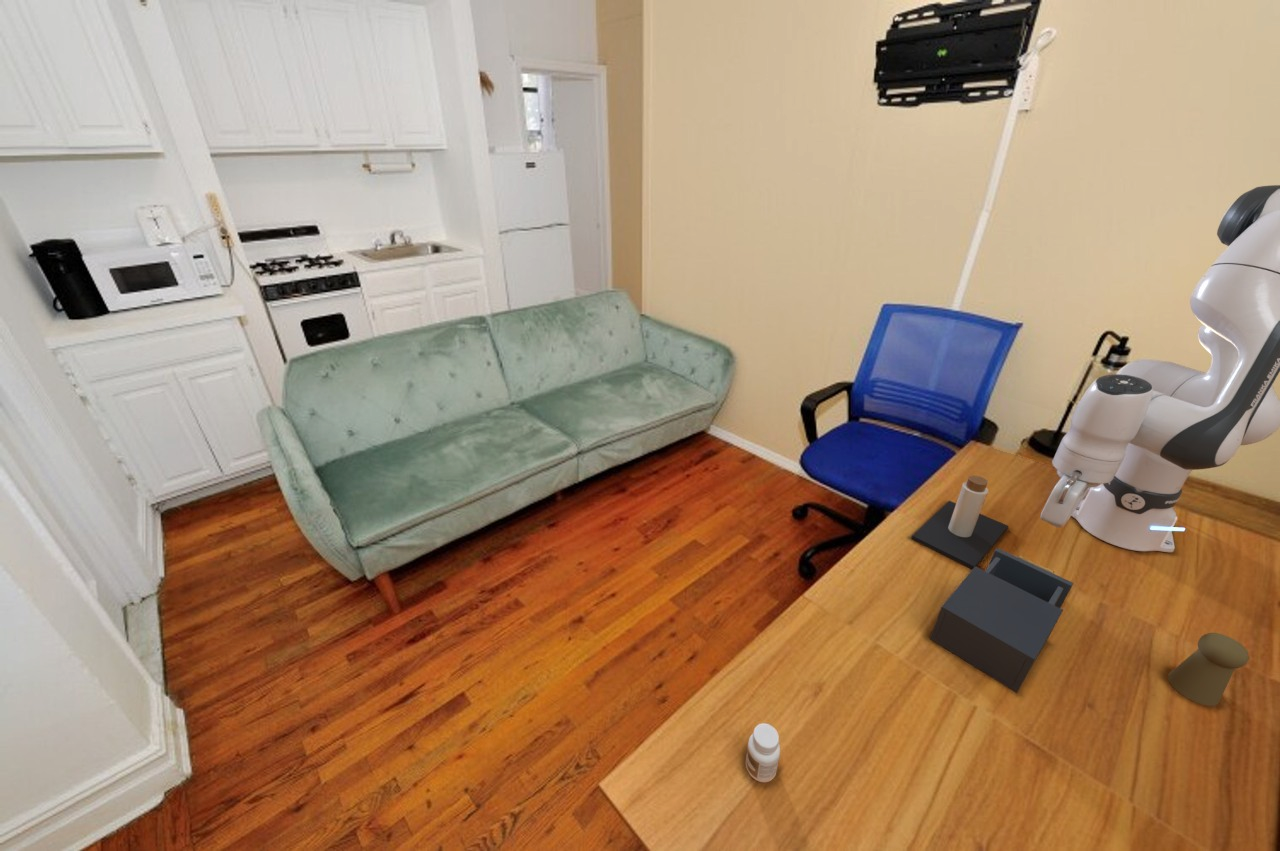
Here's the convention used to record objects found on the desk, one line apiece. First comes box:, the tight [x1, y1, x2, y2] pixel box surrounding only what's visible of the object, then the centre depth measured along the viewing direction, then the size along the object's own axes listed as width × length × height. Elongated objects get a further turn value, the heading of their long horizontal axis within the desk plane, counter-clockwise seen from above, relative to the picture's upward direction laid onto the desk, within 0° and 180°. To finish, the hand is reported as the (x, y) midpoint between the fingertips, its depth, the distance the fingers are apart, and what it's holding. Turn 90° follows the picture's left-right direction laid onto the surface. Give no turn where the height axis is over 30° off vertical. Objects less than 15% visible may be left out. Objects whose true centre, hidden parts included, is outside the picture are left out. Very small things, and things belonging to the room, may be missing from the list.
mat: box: [910, 500, 1009, 570], centre depth 116 cm, size 20×13×1 cm, turn 130°
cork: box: [1167, 632, 1250, 707], centre depth 79 cm, size 6×6×11 cm
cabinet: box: [929, 566, 1064, 694], centre depth 89 cm, size 15×14×8 cm
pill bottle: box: [745, 722, 781, 783], centre depth 71 cm, size 4×4×8 cm
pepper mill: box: [948, 475, 989, 537], centre depth 112 cm, size 5×5×14 cm
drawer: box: [984, 547, 1074, 609], centre depth 96 cm, size 18×13×6 cm
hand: (1056, 522), depth 98 cm, fingers closed
